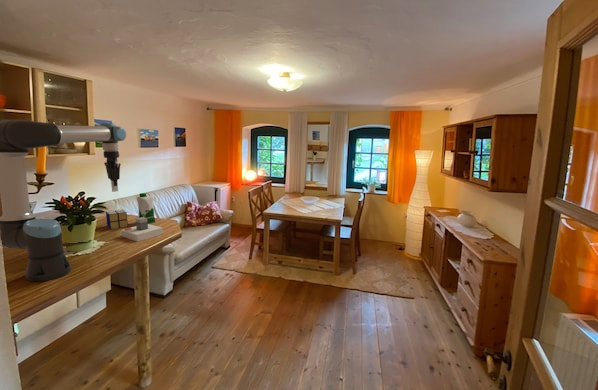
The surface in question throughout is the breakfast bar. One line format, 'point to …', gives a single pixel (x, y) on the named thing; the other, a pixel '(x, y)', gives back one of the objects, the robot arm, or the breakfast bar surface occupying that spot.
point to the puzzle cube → (116, 219)
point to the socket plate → (141, 233)
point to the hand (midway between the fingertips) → (115, 191)
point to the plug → (141, 223)
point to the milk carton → (146, 207)
